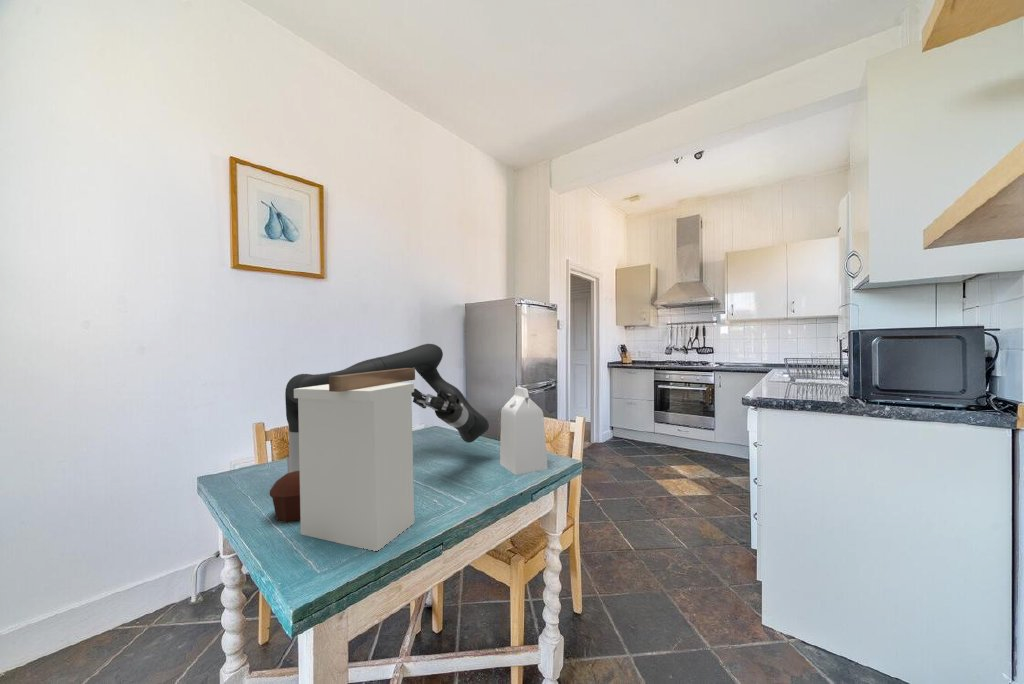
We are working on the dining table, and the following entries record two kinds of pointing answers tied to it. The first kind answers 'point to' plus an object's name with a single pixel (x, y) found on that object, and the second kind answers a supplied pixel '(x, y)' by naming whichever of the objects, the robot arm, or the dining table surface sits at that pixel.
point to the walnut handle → (370, 379)
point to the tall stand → (356, 463)
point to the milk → (522, 435)
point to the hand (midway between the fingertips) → (425, 392)
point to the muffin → (287, 497)
